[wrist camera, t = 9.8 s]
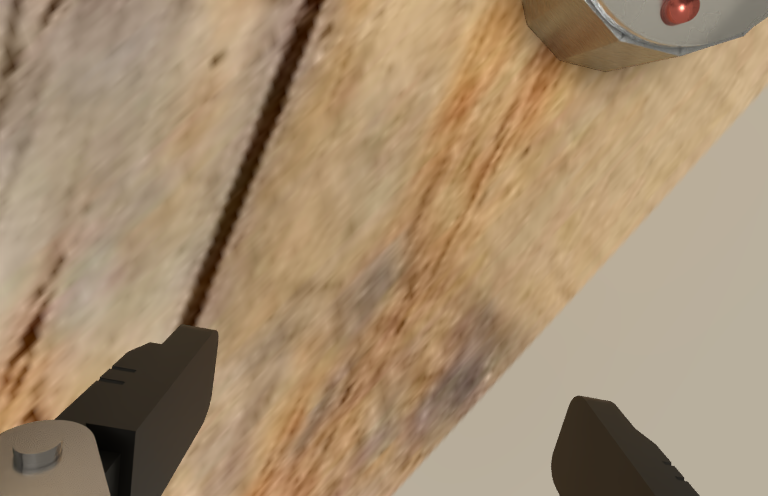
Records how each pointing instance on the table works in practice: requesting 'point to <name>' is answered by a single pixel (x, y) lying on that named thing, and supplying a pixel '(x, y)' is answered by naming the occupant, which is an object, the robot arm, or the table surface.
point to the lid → (682, 19)
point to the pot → (593, 36)
